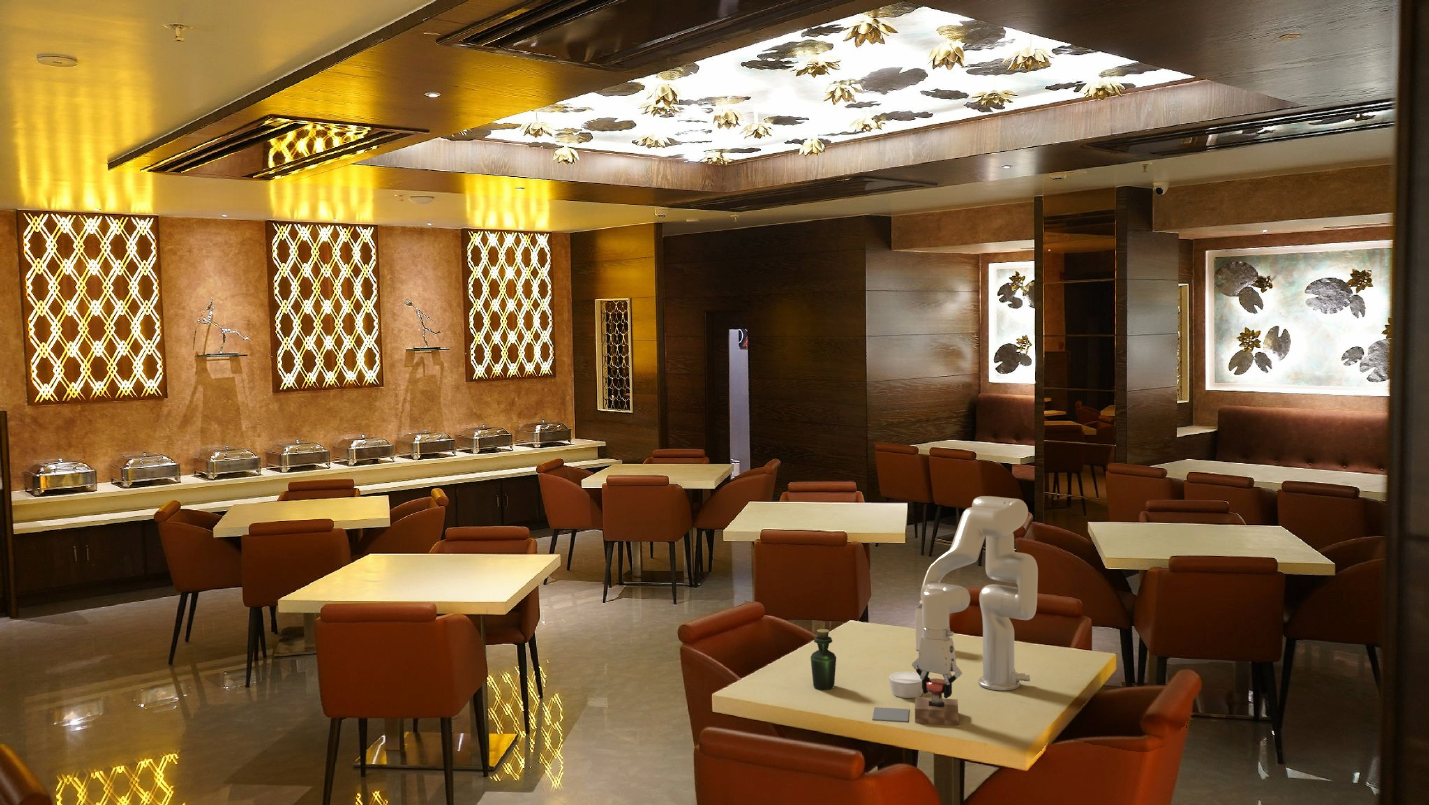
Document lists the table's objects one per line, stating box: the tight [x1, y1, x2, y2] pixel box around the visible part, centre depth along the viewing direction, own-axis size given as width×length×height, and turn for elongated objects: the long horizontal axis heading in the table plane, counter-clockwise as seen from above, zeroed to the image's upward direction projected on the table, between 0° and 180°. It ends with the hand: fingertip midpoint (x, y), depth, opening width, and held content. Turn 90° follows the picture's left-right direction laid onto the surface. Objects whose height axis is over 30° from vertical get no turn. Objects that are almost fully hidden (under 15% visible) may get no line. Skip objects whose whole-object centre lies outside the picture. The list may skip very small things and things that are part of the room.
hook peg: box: [926, 677, 945, 707], centre depth 295 cm, size 6×6×9 cm
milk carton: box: [915, 599, 923, 651], centre depth 362 cm, size 7×7×19 cm
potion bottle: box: [809, 628, 837, 691], centre depth 324 cm, size 8×8×18 cm
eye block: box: [914, 696, 959, 726], centre depth 295 cm, size 12×10×4 cm
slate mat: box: [871, 706, 910, 723], centre depth 298 cm, size 10×10×1 cm
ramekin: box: [888, 671, 924, 699], centre depth 316 cm, size 11×11×5 cm
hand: (936, 694), depth 295 cm, fingers closed on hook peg, 6 cm apart
